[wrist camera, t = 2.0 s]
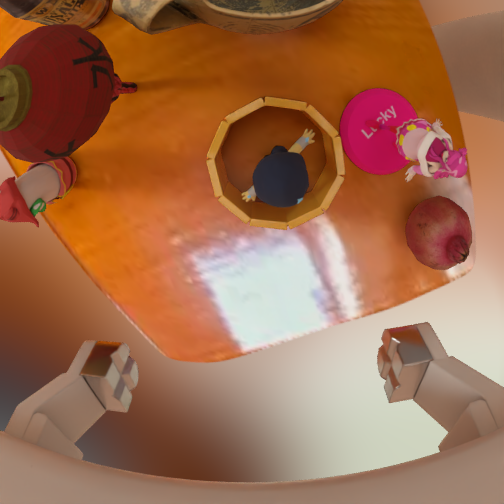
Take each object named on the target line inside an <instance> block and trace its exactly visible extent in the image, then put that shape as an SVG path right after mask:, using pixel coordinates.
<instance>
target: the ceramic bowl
mask: <svg viewBox="0 0 504 504" xmlns="http://www.w3.org/2000/svg"><path fill="white" fill-rule="evenodd" d="M342 1H343V0H113V3H112V10H113V11H114V13H115V14H117V15H119V16H121V17H122V18H124V19H125V20H127V21H128V22H130V23H131V24H133V25H134V26H135V27H136V28H138V29H139V30H141V31H143V32H146V33H148V34H158V33H162V32H166V31H169V30H173V29H176V28H179V27H183V26H187V25H191V24H195V23H204V24H208V25H213V26H216V27H218V28H221V29H224V30H227V31H232V32H238V33H244V34H270V33H277V32H282V31H287V30H291V29H295V28H298V27H301V26H303V25H306V24H309V23H311V22H313V21H315V20H317V19H319V18H320V17H322V16H324V15H325V14H327V13H329V12H330V11H331V10H333V9H334V8H335V7H336V6H338V5H339V4H340V3H341V2H342Z"/></svg>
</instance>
